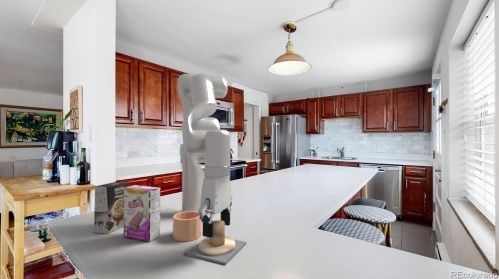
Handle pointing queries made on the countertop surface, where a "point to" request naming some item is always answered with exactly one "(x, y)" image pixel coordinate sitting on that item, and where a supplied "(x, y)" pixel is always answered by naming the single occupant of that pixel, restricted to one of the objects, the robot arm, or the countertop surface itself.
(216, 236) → the lid
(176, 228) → the bowl
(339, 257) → the countertop surface
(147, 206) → the candy bar box
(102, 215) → the coffee box
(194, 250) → the mat
